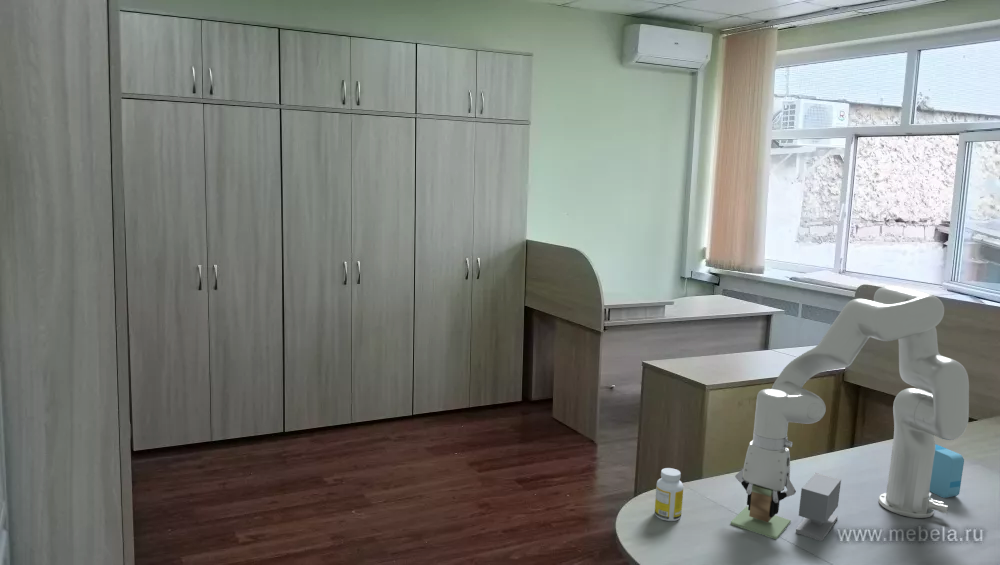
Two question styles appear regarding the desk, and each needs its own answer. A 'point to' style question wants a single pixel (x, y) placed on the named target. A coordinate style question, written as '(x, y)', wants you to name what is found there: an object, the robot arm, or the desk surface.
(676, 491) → the pill bottle
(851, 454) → the desk surface
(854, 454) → the desk surface
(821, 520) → the mounted unit
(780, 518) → the mat
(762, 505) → the brown and green block
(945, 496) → the data package
